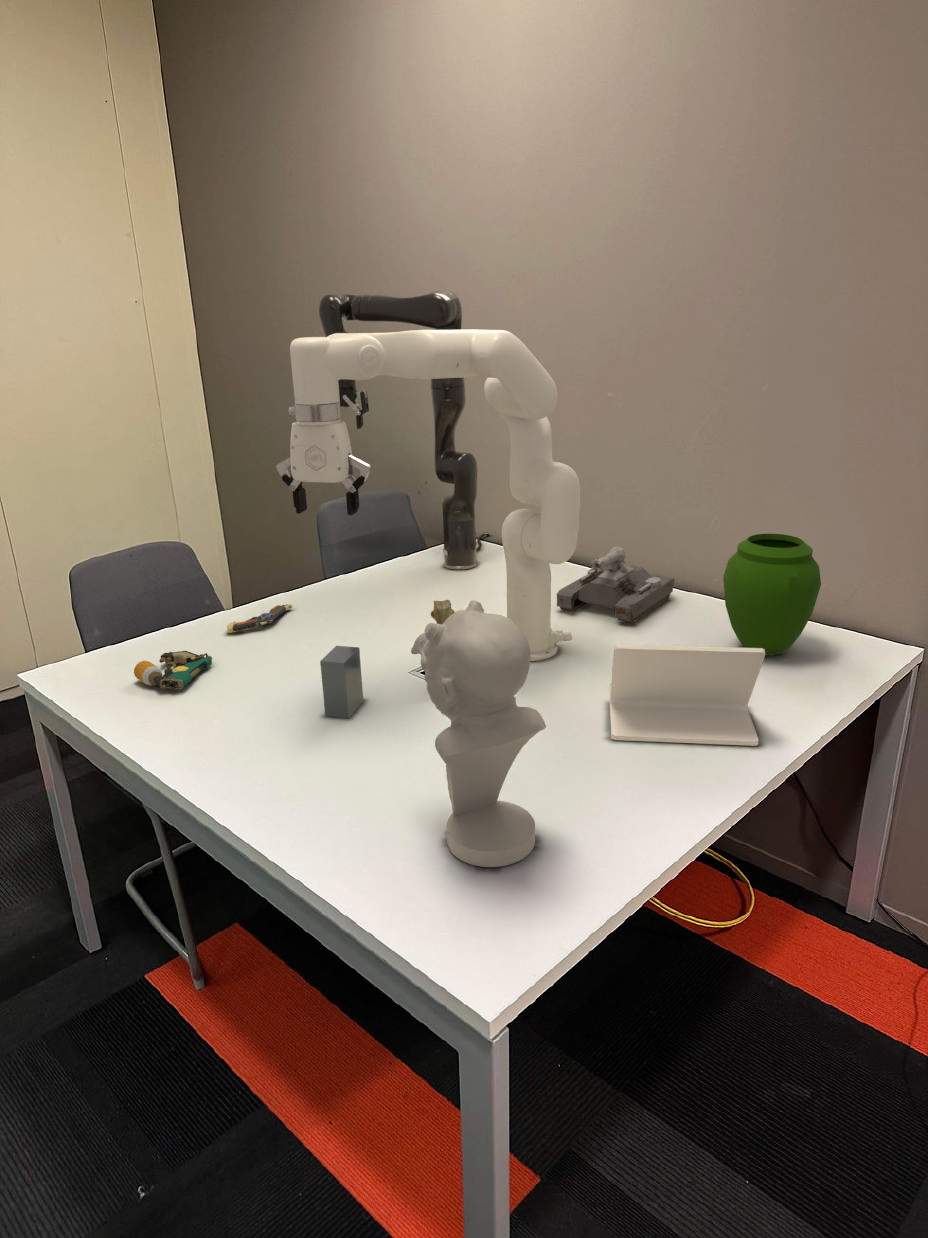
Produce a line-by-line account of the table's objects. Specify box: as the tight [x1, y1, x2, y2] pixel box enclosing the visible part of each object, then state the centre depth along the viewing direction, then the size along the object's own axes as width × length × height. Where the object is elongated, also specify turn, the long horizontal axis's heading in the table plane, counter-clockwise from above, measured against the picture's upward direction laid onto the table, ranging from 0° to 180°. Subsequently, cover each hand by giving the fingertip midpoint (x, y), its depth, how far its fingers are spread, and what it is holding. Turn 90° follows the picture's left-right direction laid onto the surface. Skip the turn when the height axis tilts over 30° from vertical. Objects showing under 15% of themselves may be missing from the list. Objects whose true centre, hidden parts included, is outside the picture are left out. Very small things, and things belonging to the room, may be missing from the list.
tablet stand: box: [609, 643, 766, 747], centre depth 153 cm, size 18×25×17 cm
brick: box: [319, 645, 364, 719], centre depth 162 cm, size 5×8×11 cm, turn 165°
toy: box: [556, 546, 676, 624], centre depth 212 cm, size 25×20×15 cm
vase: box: [722, 533, 822, 656], centre depth 181 cm, size 20×20×24 cm
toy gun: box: [226, 603, 293, 634], centre depth 210 cm, size 3×19×10 cm
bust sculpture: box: [410, 599, 547, 868], centre depth 121 cm, size 16×24×35 cm
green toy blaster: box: [133, 650, 213, 690], centre depth 180 cm, size 4×17×15 cm
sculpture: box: [430, 599, 456, 624], centre depth 177 cm, size 6×7×15 cm
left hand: (345, 428), depth 246 cm, fingers open, 8 cm apart
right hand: (327, 512), depth 151 cm, fingers open, 9 cm apart
